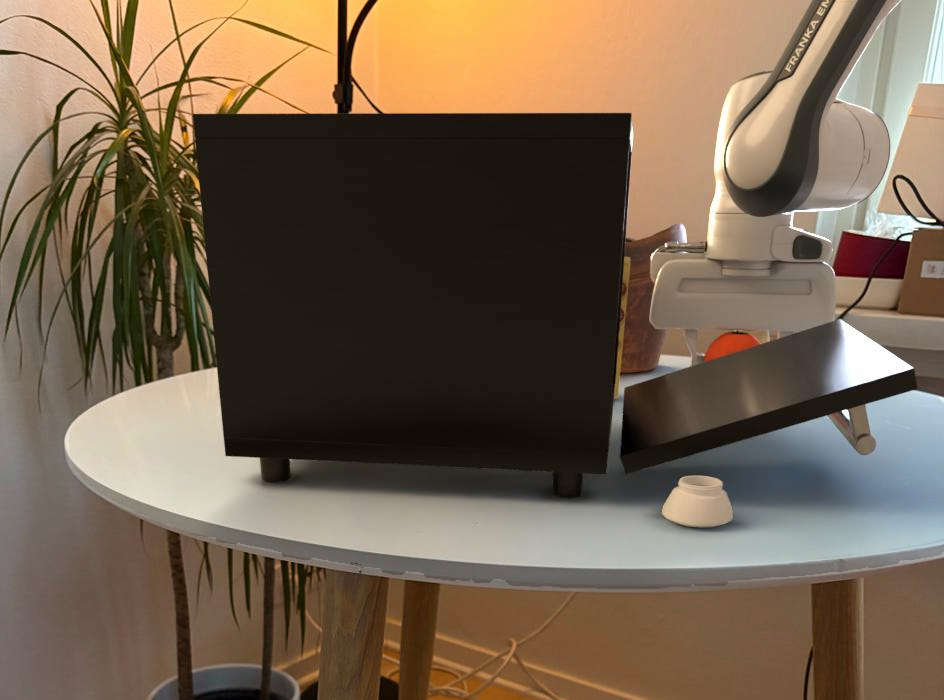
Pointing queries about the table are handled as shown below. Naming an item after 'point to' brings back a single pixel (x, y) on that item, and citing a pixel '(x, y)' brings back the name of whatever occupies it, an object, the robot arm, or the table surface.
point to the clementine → (730, 344)
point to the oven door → (762, 395)
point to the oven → (417, 287)
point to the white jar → (698, 503)
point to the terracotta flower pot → (644, 302)
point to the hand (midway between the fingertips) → (733, 370)
